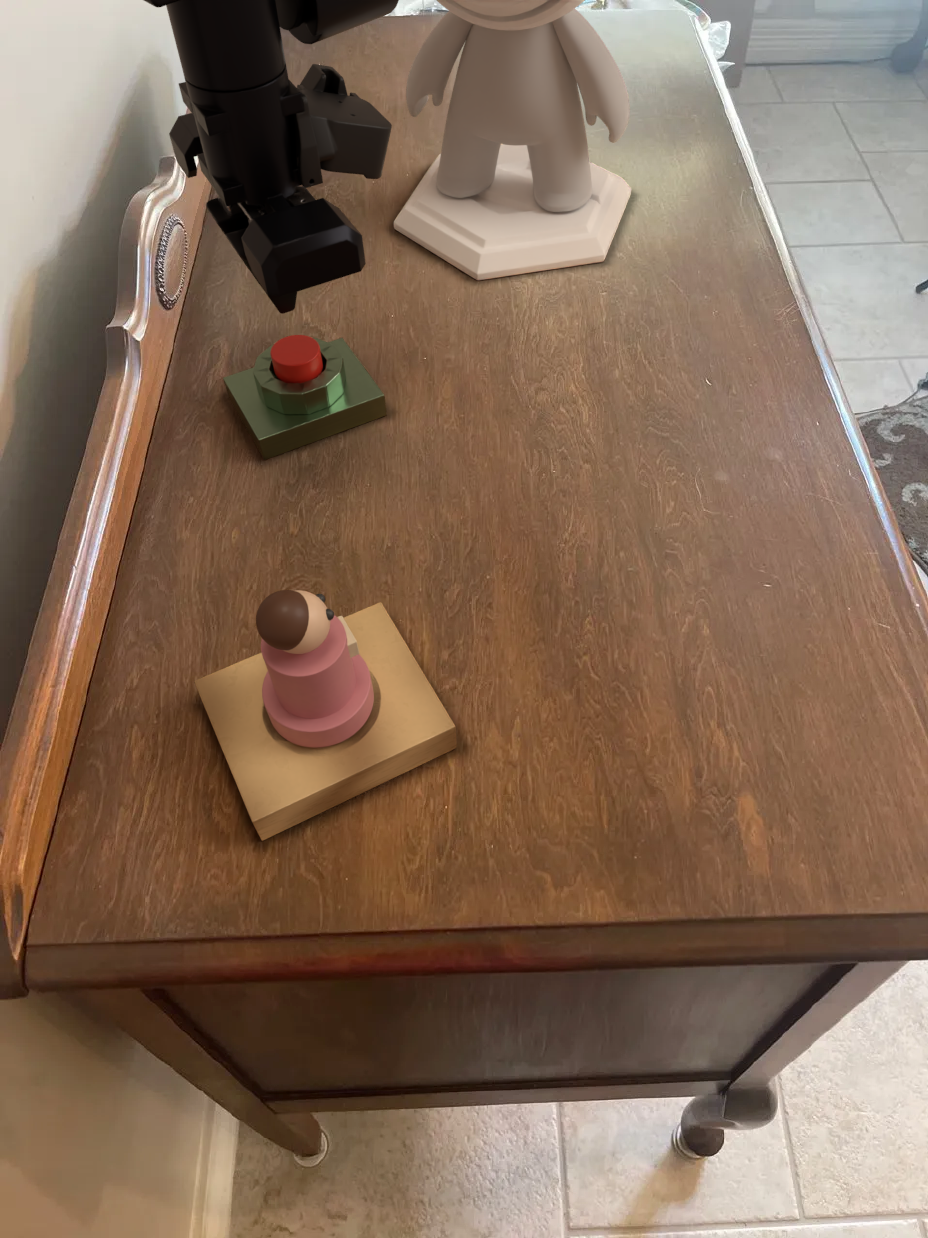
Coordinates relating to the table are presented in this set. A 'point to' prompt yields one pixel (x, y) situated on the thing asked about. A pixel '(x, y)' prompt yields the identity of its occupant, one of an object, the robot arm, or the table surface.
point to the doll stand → (326, 776)
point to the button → (296, 359)
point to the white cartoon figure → (517, 139)
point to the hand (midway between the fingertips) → (286, 309)
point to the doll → (311, 670)
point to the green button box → (304, 400)
